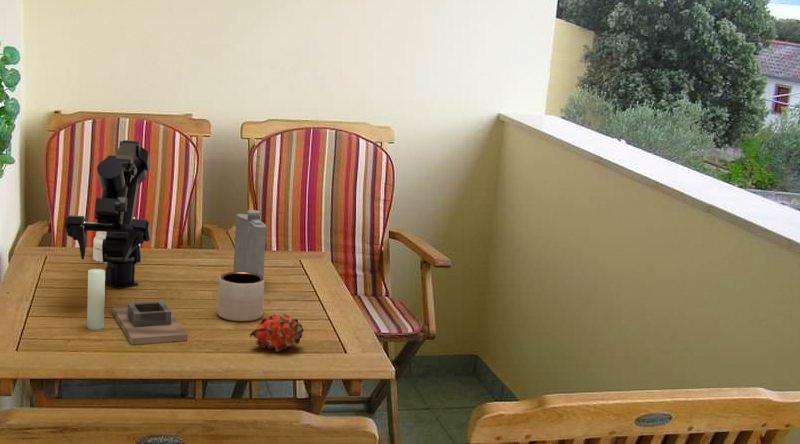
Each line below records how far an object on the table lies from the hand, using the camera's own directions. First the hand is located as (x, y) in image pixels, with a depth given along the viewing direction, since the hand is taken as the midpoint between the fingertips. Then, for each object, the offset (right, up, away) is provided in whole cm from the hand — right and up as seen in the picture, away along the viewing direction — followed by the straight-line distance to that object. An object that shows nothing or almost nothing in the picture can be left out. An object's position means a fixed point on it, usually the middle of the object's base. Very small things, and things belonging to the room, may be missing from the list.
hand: (103, 259), depth 216 cm
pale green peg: (0, -15, -5) cm, 16 cm away
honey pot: (-12, -2, +52) cm, 54 cm away
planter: (+29, -14, +12) cm, 35 cm away
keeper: (+11, -15, -2) cm, 19 cm away
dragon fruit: (+41, -20, -8) cm, 46 cm away
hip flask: (+27, -8, +39) cm, 48 cm away
